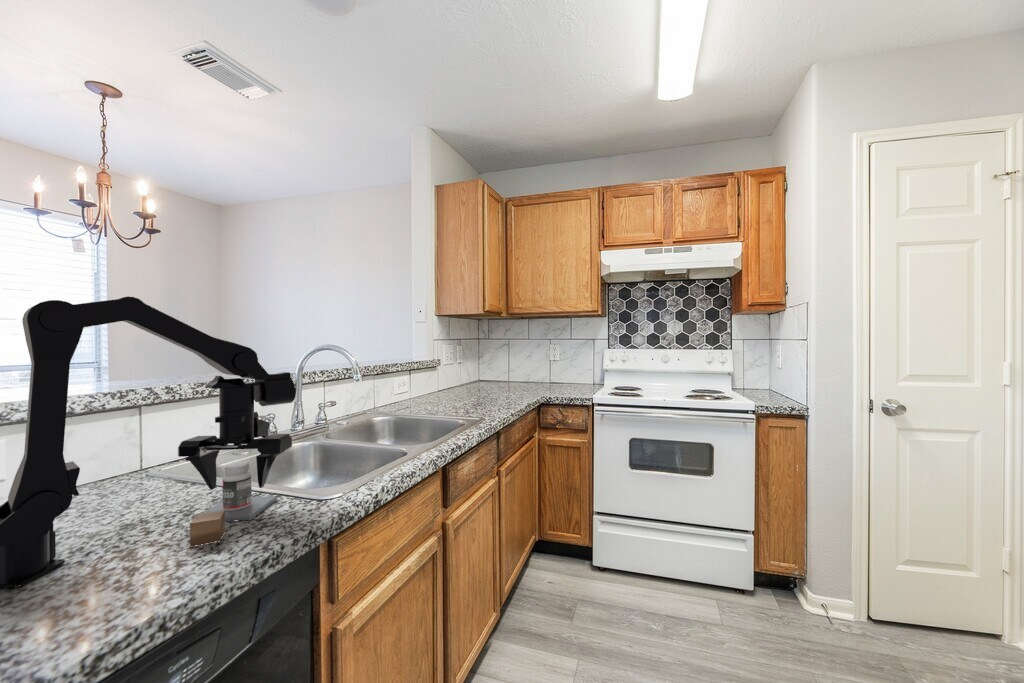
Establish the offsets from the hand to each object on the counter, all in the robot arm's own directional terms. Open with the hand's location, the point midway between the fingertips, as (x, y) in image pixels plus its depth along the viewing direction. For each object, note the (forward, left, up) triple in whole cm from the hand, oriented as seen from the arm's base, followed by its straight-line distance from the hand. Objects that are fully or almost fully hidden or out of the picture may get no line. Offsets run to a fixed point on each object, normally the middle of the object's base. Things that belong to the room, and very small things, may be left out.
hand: (237, 488), depth 81 cm
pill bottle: (0, 0, -4) cm, 4 cm away
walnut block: (-12, -2, -5) cm, 13 cm away
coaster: (0, 0, -4) cm, 4 cm away
